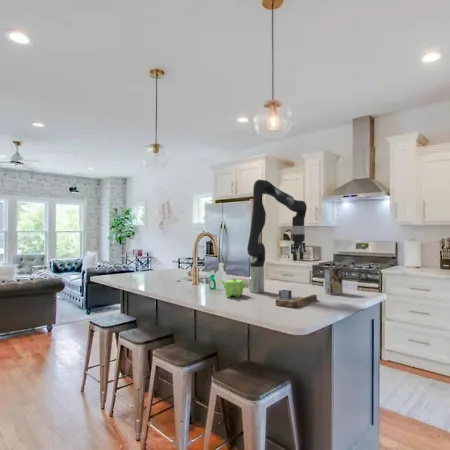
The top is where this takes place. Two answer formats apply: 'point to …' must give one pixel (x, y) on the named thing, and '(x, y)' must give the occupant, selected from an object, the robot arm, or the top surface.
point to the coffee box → (333, 281)
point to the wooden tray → (296, 301)
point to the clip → (285, 294)
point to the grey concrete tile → (285, 298)
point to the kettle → (234, 287)
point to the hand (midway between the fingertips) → (298, 260)
